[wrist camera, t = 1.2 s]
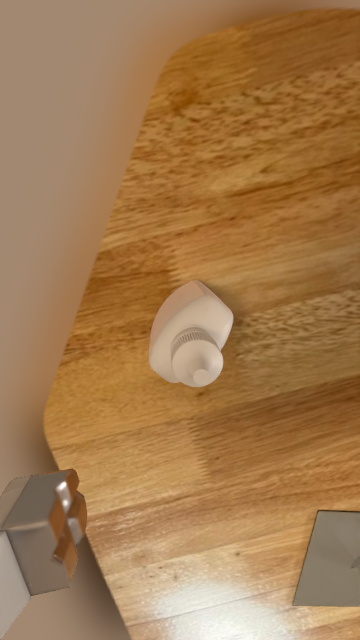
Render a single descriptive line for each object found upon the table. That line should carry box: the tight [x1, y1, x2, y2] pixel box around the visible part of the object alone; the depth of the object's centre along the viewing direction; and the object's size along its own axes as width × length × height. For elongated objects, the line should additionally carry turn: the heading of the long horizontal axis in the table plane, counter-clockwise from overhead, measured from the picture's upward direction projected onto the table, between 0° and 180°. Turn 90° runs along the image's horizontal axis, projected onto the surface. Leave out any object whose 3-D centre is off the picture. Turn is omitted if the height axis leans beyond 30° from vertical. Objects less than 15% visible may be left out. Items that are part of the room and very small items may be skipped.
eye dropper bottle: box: [149, 280, 233, 387], centre depth 18 cm, size 4×6×12 cm
